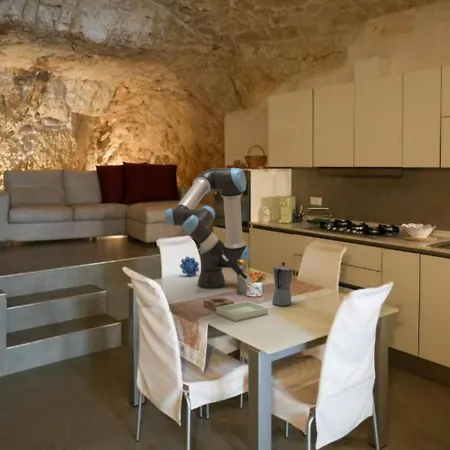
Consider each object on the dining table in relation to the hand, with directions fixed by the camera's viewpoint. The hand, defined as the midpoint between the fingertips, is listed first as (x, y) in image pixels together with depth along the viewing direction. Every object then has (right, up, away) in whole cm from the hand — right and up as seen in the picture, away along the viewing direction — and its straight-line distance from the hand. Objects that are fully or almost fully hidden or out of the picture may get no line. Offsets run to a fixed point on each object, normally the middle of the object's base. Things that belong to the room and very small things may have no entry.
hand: (250, 281), depth 217 cm
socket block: (-14, -13, +13) cm, 23 cm away
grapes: (-32, -6, +75) cm, 82 cm away
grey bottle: (-4, -5, 0) cm, 7 cm away
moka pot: (+16, -13, +17) cm, 27 cm away
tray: (-4, -15, +2) cm, 15 cm away
